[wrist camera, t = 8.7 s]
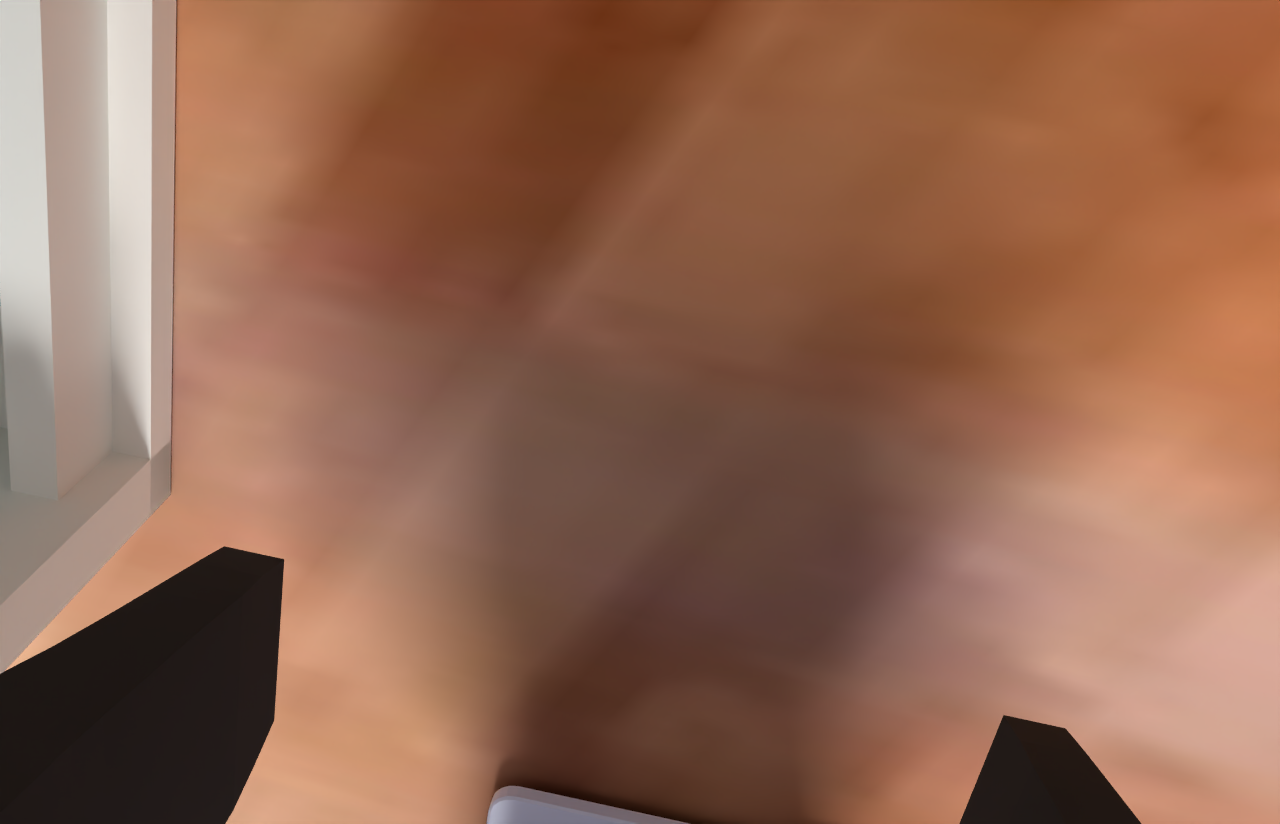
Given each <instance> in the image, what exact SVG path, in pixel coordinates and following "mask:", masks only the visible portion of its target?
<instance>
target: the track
mask: <svg viewBox="0 0 1280 824" xmlns="http://www.w3.org/2000/svg"><path fill="white" fill-rule="evenodd" d="M175 78H176V0H0V303H1V306H0V674H1V673H3V672H4V671H5V670H6V669H7V668H8V667H9V666H10V665H11V663H12V662H13V661H14V660H15V659H16V658H17V657H18V656H19V655H20V654H21V653H22V652H23V651H24V650H25V649H26V648H27V647H28V645H29V644H30V643H31V642H32V641H33V640H34V639H35V638H36V637H37V636H38V635H39V634H40V633H41V632H42V631H43V630H44V628H45V627H46V626H47V625H48V624H49V623H50V622H51V621H52V620H53V619H54V618H55V617H56V616H57V615H58V614H59V613H60V612H61V610H62V609H63V608H64V607H65V606H66V605H67V604H68V603H69V602H70V601H71V600H72V599H73V598H74V597H75V596H76V595H77V593H78V592H79V591H80V590H81V589H82V588H83V587H84V586H85V585H86V584H87V583H88V582H89V581H90V580H91V579H92V578H93V577H94V575H95V574H96V573H97V572H98V571H99V570H100V569H101V568H102V567H103V566H104V565H105V564H106V563H107V562H108V561H109V560H110V558H111V557H112V556H113V555H114V554H115V553H116V552H117V551H118V550H119V549H120V548H121V547H122V546H123V545H124V544H125V543H126V542H127V540H128V539H129V538H130V537H131V536H132V535H133V534H134V533H135V532H136V531H137V530H138V529H139V528H140V527H141V526H142V525H143V523H144V522H145V521H146V520H147V519H148V518H149V517H150V516H151V515H152V514H153V513H154V512H155V511H156V510H157V509H158V508H159V507H160V505H161V504H162V503H163V502H164V501H165V500H166V499H167V498H168V497H169V496H170V490H171V408H172V325H173V243H174V161H175Z"/></svg>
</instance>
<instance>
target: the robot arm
mask: <svg viewBox="0 0 1280 824" xmlns="http://www.w3.org/2000/svg"><path fill="white" fill-rule="evenodd" d="M283 569H284V559H280V558H275V557H271V556H266V555H261V554H257V553H252V552H248V551H243V550H238V549H234V548H229V547H222V548H221V549H219V550H217V551H215V552H213V553H212V554H210V555H208V556H206V557H205V558H203V559H201V560H200V561H198V562H196V563H195V564H193V565H191V566H190V567H188V568H186V569H184V570H183V571H181V572H179V573H178V574H176V575H174V576H173V577H171V578H169V579H168V580H166V581H164V582H163V583H161V584H159V585H158V586H156V587H154V588H153V589H151V590H149V591H148V592H146V593H144V594H143V595H141V596H139V597H137V598H136V599H134V600H132V601H131V602H129V603H127V604H126V605H124V606H122V607H121V608H119V609H117V610H116V611H114V612H112V613H110V614H109V615H107V616H105V617H104V618H102V619H100V620H98V621H97V622H95V623H93V624H91V625H90V626H88V627H86V628H84V629H83V630H81V631H79V632H77V633H76V634H74V635H72V636H70V637H69V638H67V639H65V640H63V641H62V642H60V643H58V644H56V645H55V646H53V647H51V648H49V649H47V650H45V651H43V652H41V653H39V654H37V655H35V656H34V657H32V658H30V659H28V660H26V661H24V662H22V663H20V664H18V665H16V666H14V667H12V668H10V669H8V670H6V671H4V672H3V673H1V674H0V824H225V823H226V821H227V820H228V818H229V816H230V815H231V813H232V811H233V810H234V807H235V805H236V803H237V801H238V799H239V797H240V795H241V793H242V790H243V788H244V786H245V784H246V782H247V780H248V778H249V776H250V773H251V771H252V769H253V767H254V765H255V762H256V760H257V758H258V756H259V753H260V751H261V749H262V747H263V744H264V742H265V740H266V737H267V735H268V733H269V731H270V728H271V726H272V724H273V722H274V713H275V697H276V681H277V665H278V649H279V633H280V617H281V601H282V585H283ZM486 824H689V823H685V822H680V821H676V820H671V819H667V818H662V817H657V816H653V815H648V814H644V813H639V812H635V811H630V810H625V809H621V808H616V807H612V806H607V805H603V804H598V803H593V802H589V801H584V800H580V799H575V798H571V797H566V796H561V795H557V794H552V793H548V792H543V791H539V790H534V789H529V788H525V787H520V786H506V787H502V788H500V789H499V790H498V791H496V792H495V794H494V796H493V798H492V801H491V804H490V807H489V811H488V817H487V823H486ZM960 824H1141V823H1140V821H1139V820H1138V819H1137V818H1136V816H1135V815H1134V814H1133V812H1132V811H1131V810H1130V809H1129V807H1128V806H1127V805H1126V803H1125V802H1124V801H1123V800H1122V798H1121V797H1120V796H1119V795H1118V793H1117V792H1116V791H1115V789H1114V788H1113V787H1112V786H1111V784H1110V783H1109V782H1108V780H1107V779H1106V778H1105V777H1104V775H1103V774H1102V773H1101V771H1100V770H1099V769H1098V768H1097V766H1096V765H1095V764H1094V763H1093V761H1092V760H1091V759H1090V757H1089V756H1088V755H1087V754H1086V752H1085V751H1084V750H1083V749H1082V748H1081V746H1080V745H1079V744H1078V743H1077V742H1076V740H1075V739H1074V738H1073V737H1072V736H1071V734H1070V733H1069V732H1068V731H1067V730H1066V729H1065V728H1061V727H1056V726H1051V725H1047V724H1042V723H1037V722H1033V721H1028V720H1024V719H1019V718H1014V717H1010V716H1005V715H1004V716H1003V718H1002V721H1001V723H1000V725H999V728H998V730H997V733H996V735H995V738H994V740H993V743H992V745H991V748H990V750H989V753H988V755H987V757H986V760H985V762H984V765H983V767H982V770H981V772H980V775H979V777H978V780H977V782H976V784H975V787H974V789H973V792H972V794H971V797H970V799H969V802H968V804H967V807H966V809H965V812H964V814H963V816H962V819H961V821H960Z"/></svg>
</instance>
